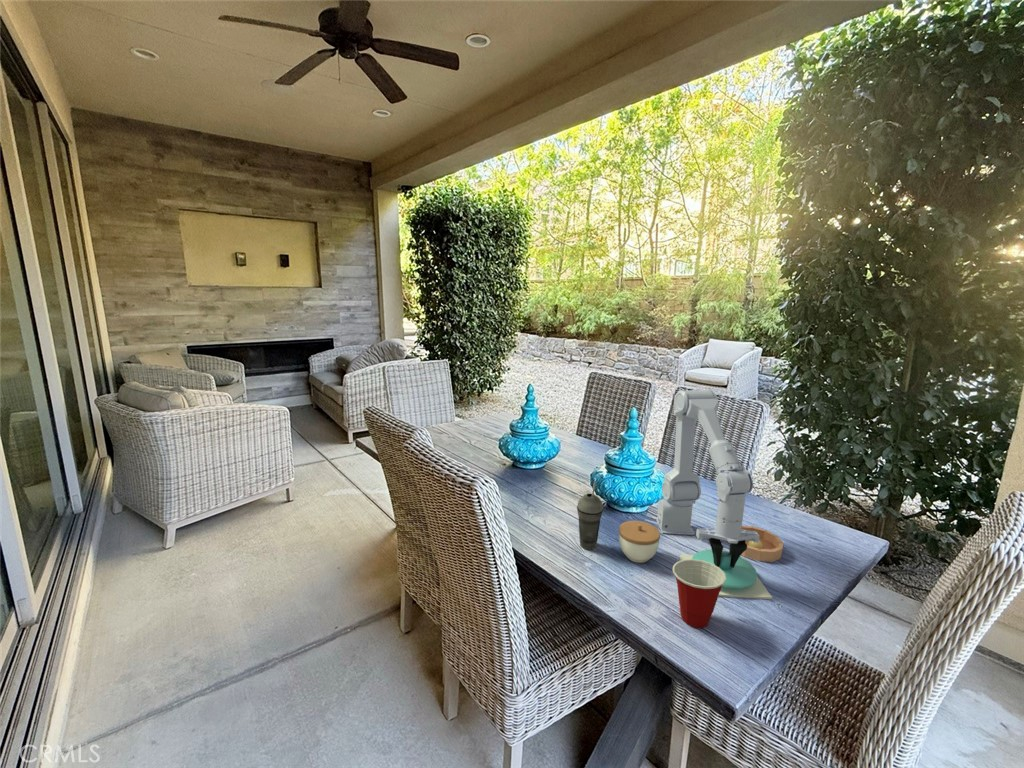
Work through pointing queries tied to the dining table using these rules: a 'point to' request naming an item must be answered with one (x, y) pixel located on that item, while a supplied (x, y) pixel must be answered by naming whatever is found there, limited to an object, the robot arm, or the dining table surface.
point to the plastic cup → (697, 590)
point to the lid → (731, 569)
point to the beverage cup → (589, 519)
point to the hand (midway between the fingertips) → (723, 565)
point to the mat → (749, 592)
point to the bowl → (763, 546)
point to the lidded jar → (638, 540)
